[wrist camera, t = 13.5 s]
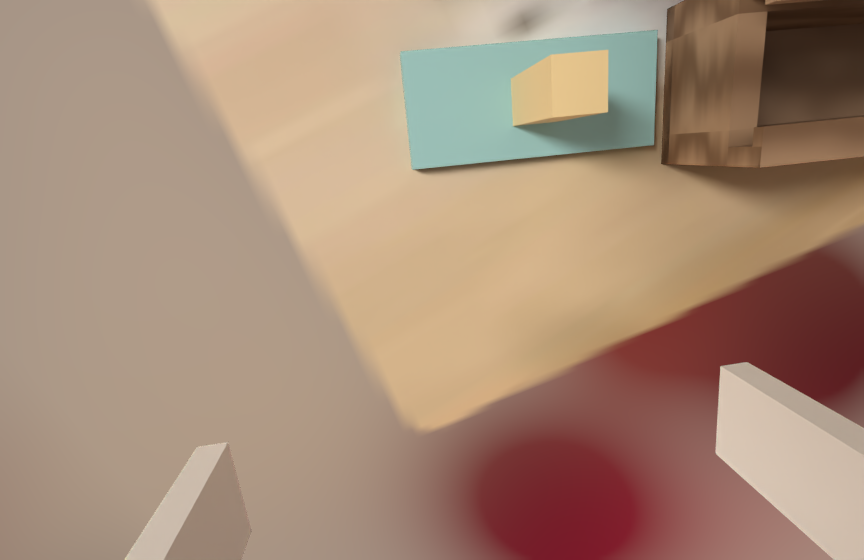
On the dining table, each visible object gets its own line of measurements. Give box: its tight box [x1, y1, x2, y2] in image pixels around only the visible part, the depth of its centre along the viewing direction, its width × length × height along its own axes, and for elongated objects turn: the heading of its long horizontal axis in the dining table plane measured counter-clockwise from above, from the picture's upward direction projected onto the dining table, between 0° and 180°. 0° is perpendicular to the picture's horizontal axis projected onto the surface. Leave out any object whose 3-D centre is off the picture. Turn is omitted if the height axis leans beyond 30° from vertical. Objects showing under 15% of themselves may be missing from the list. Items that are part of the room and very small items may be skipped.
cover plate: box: [400, 30, 658, 170], centre depth 33 cm, size 9×20×11 cm, turn 96°
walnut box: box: [661, 0, 864, 168], centre depth 34 cm, size 12×23×11 cm, turn 96°
